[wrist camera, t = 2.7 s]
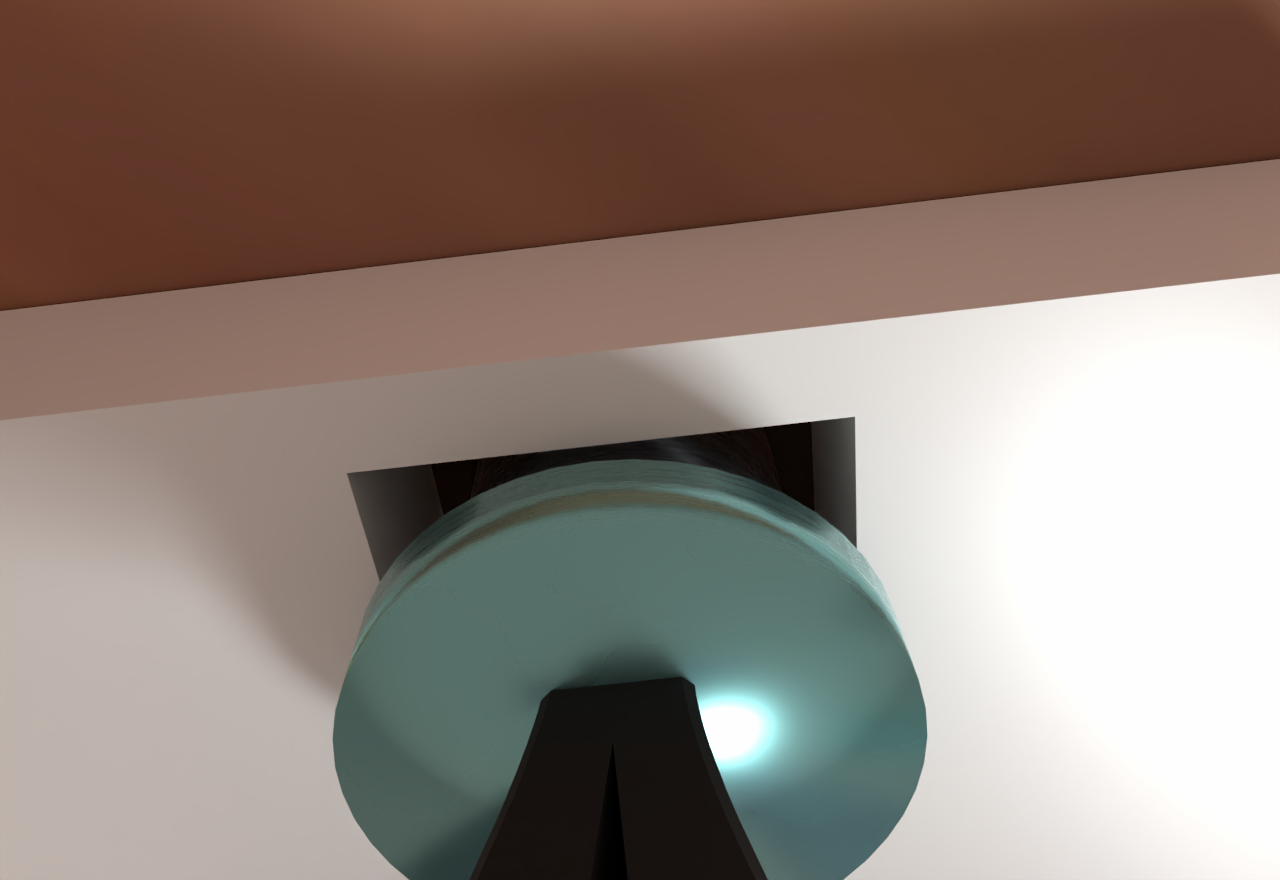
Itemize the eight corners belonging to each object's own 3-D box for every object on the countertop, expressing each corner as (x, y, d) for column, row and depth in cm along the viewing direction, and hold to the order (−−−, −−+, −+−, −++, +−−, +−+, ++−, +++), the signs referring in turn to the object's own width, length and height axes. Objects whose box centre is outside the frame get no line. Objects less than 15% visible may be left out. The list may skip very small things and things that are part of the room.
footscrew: (840, 626, 15) (922, 921, 11) (462, 664, 16) (409, 968, 12) (829, 268, 13) (935, 488, 9) (369, 322, 13) (255, 563, 9)
